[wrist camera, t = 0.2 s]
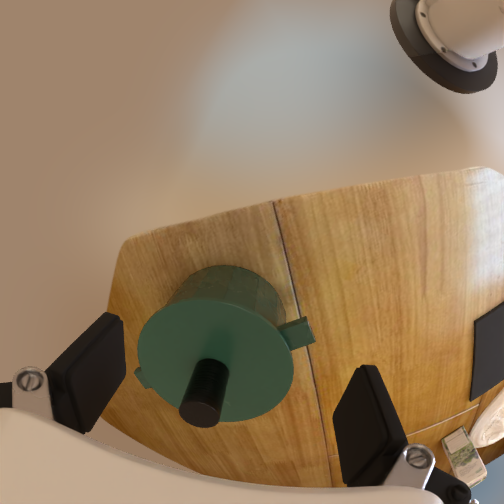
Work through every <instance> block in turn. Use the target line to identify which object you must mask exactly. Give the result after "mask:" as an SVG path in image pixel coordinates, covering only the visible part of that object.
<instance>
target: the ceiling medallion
mask: <svg viewBox="0 0 504 504" xmlns="http://www.w3.org/2000/svg"><path fill="white" fill-rule="evenodd" d="M469 437H470V439H471V441H472V443H473V445H474V447H475V448H480V447H485V446H487V445H490V444H493V443H495V442H496V441H498V440H500V439H501V438H503V437H504V388H503V389H502V390H501V391H500V392H499V394H498V395H497V396H496V397H495V398H494V399H493V400H492V402H491V403H490V404H489V405H488V406H487V408H486V409H485V410H484V411H483V413H482V414H481V415H480V417H479V418H478V420H477V421H476V423H475V424H474V426H473V428H472V430H471V432H470V435H469Z"/></svg>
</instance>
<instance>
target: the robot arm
mask: <svg viewBox="0 0 504 504" xmlns="http://www.w3.org/2000/svg"><path fill="white" fill-rule="evenodd" d="M415 15H416V20H417V24H418V26H419V28H420V31H421V32H422V34H423V36H424V38H425V39H426V40H427V42H428V43H429V45H430V46H431V47H432V48H433V49H434V50H435V51H436V53H437V54H439V55H440V56H441V57H442V58H443V59H444V60H445V61H447V62H448V63H449V64H451V65H453V66H454V67H456V68H458V69H461V70H463V71H468V72H473V71H477V70H480V69H482V68H483V67H484V66H485V65H486V63H487V60H488V53H491V52H493V51H496V50H498V49H500V48H502V47H504V0H420V1H419V2H418V4H417V5H416V9H415ZM125 375H126V362H125V349H124V331H123V321H122V320H120V318H119V316H118V315H114V314H111V313H108V312H105V313H103V314H102V315H101V316H100V317H99V318H98V319H97V320H96V321H95V322H94V323H93V324H92V325H91V326H90V327H89V328H88V329H87V330H86V331H85V332H84V333H82V334H81V335H80V337H78V338H77V339H76V340H75V341H74V342H73V343H72V344H71V345H70V346H69V347H68V348H67V349H66V350H65V351H64V352H63V353H62V354H61V355H60V356H59V357H58V358H57V359H56V360H55V361H54V362H53V363H52V364H51V365H50V366H49V367H48V368H47V369H46V370H45V371H43V370H41V369H39V368H37V367H25V368H22V369H20V370H18V371H17V372H16V373H15V375H14V377H13V381H12V382H8V383H0V504H480V503H479V502H478V501H477V500H475V499H474V500H473V501H471V500H470V499H471V491H470V488H469V487H468V485H467V484H466V483H464V482H463V481H461V480H459V479H457V478H455V477H453V476H451V475H449V474H447V473H446V472H444V471H442V470H440V469H438V468H436V467H434V463H435V457H434V455H433V453H432V451H431V450H430V449H429V448H428V447H426V446H425V445H422V444H419V443H413V444H408V441H407V438H406V435H405V433H404V430H403V428H402V425H401V423H400V420H399V418H398V415H397V413H396V410H395V408H394V405H393V403H392V401H391V398H390V396H389V394H388V391H387V389H386V387H385V384H384V382H383V380H382V377H381V375H380V373H379V371H378V368H377V367H376V366H375V365H361V366H360V368H356V370H355V372H354V374H353V376H352V378H351V380H350V382H349V384H348V386H347V388H346V390H345V392H344V394H343V396H342V398H341V400H340V402H339V403H338V405H337V407H336V409H335V411H334V413H333V424H334V430H335V436H336V441H337V447H338V453H339V459H340V466H341V472H342V478H343V482H344V484H347V488H303V487H284V486H272V485H262V484H253V483H246V482H239V481H232V480H227V479H221V478H216V477H211V476H206V475H201V474H197V473H193V472H188V471H184V470H180V469H177V468H173V467H170V466H166V465H163V464H159V463H155V462H153V461H149V460H146V459H144V458H140V457H137V456H135V455H132V454H129V453H127V452H124V451H121V450H119V449H116V448H114V447H111V446H108V445H106V444H104V443H101V442H99V441H97V440H94V439H92V438H90V437H87V436H85V435H84V434H85V432H90V431H91V429H92V428H93V426H94V425H95V423H96V421H97V420H98V418H99V417H100V415H101V413H102V412H103V410H104V409H105V407H106V406H107V404H108V402H109V401H110V399H111V398H112V396H113V395H114V393H115V392H116V390H117V389H118V387H119V385H120V384H121V382H122V381H123V379H124V378H125Z"/></svg>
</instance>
